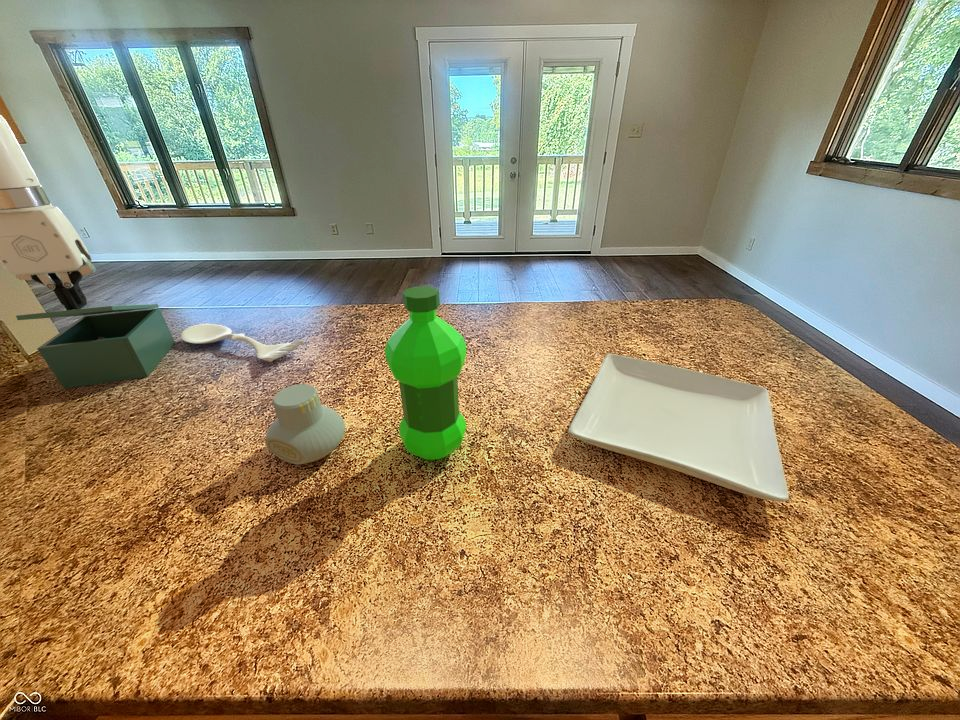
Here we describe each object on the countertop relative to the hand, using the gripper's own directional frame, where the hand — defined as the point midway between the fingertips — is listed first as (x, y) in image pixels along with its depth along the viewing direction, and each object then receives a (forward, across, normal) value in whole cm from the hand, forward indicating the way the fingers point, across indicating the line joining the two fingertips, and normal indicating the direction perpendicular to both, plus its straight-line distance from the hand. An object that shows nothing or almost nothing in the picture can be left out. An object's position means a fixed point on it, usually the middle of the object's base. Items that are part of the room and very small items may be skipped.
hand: (77, 307), depth 70 cm
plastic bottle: (+15, +57, -41) cm, 72 cm away
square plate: (+15, +95, -48) cm, 107 cm away
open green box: (+14, 0, +4) cm, 15 cm away
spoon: (+15, +22, +4) cm, 27 cm away
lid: (+3, 0, +4) cm, 5 cm away
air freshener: (+15, +39, -35) cm, 55 cm away
